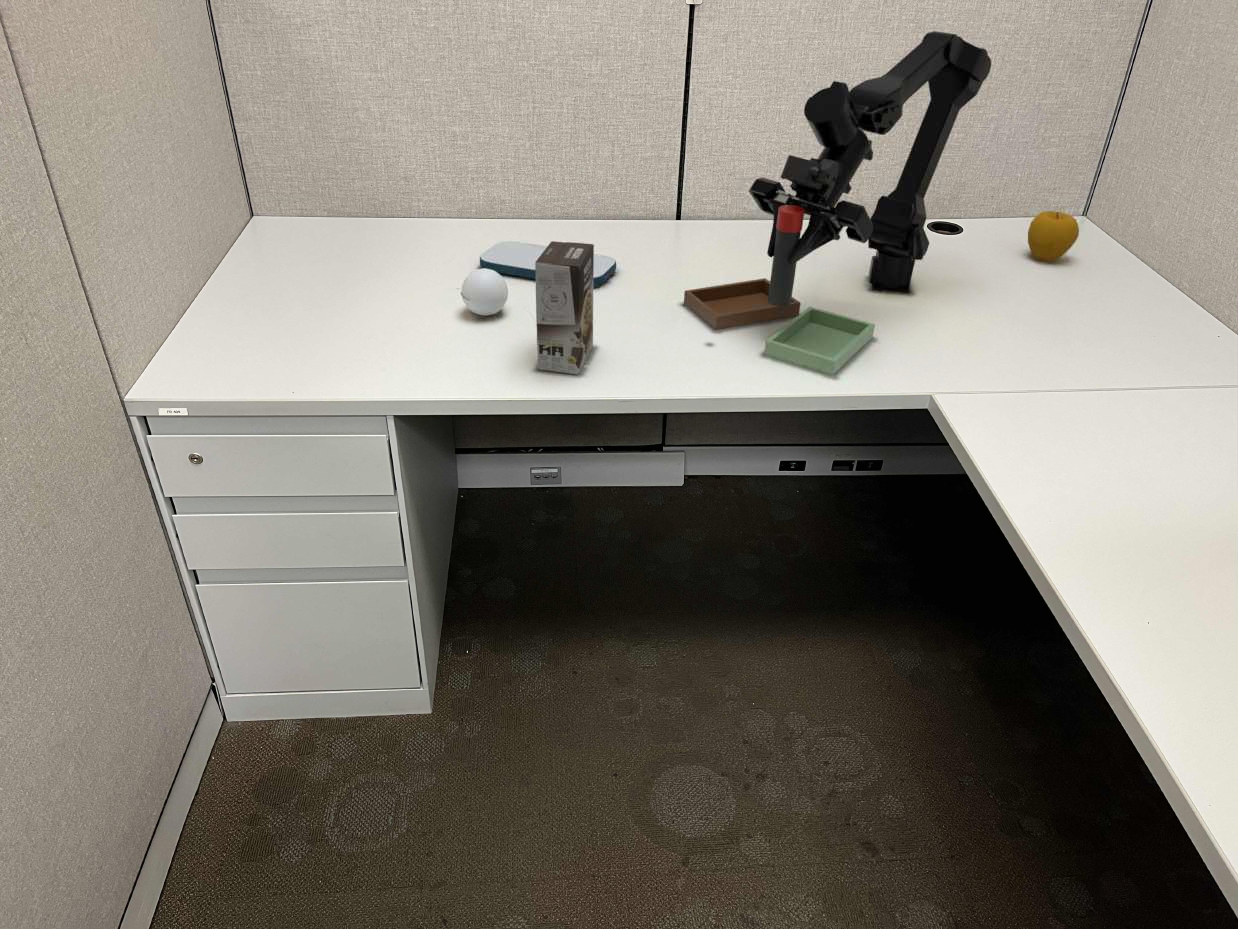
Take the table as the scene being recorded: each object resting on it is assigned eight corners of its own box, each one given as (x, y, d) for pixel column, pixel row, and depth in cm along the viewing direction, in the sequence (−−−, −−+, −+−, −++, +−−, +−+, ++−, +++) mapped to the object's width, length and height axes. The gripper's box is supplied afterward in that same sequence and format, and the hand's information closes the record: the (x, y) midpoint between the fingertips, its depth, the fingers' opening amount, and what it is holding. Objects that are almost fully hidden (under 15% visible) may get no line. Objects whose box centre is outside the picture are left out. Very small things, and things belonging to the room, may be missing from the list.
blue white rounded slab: (473, 270, 155) (472, 260, 154) (502, 249, 164) (502, 239, 163) (598, 291, 148) (598, 280, 147) (621, 268, 157) (621, 257, 156)
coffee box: (580, 375, 124) (580, 266, 115) (536, 370, 125) (532, 261, 116) (594, 347, 131) (595, 242, 122) (553, 342, 132) (551, 238, 123)
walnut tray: (763, 291, 150) (765, 278, 149) (798, 316, 142) (800, 302, 141) (683, 304, 145) (684, 290, 144) (715, 331, 137) (716, 316, 135)
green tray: (807, 320, 141) (809, 306, 139) (872, 339, 136) (875, 324, 134) (763, 355, 130) (765, 340, 129) (832, 376, 125) (835, 361, 124)
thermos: (793, 299, 132) (806, 206, 124) (789, 308, 129) (802, 214, 121) (769, 295, 133) (781, 203, 125) (764, 304, 130) (776, 210, 122)
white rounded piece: (515, 307, 143) (513, 263, 139) (499, 325, 137) (497, 281, 133) (458, 299, 144) (454, 256, 140) (440, 317, 139) (435, 273, 134)
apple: (1073, 256, 168) (1088, 210, 163) (1065, 270, 162) (1080, 223, 157) (1026, 247, 171) (1039, 202, 166) (1017, 260, 165) (1030, 213, 160)
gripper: (764, 119, 125) (707, 212, 125) (877, 146, 114) (815, 247, 114) (790, 165, 134) (737, 252, 134) (897, 194, 123) (840, 288, 123)
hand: (779, 259), depth 126 cm, fingers closed on thermos, 3 cm apart
